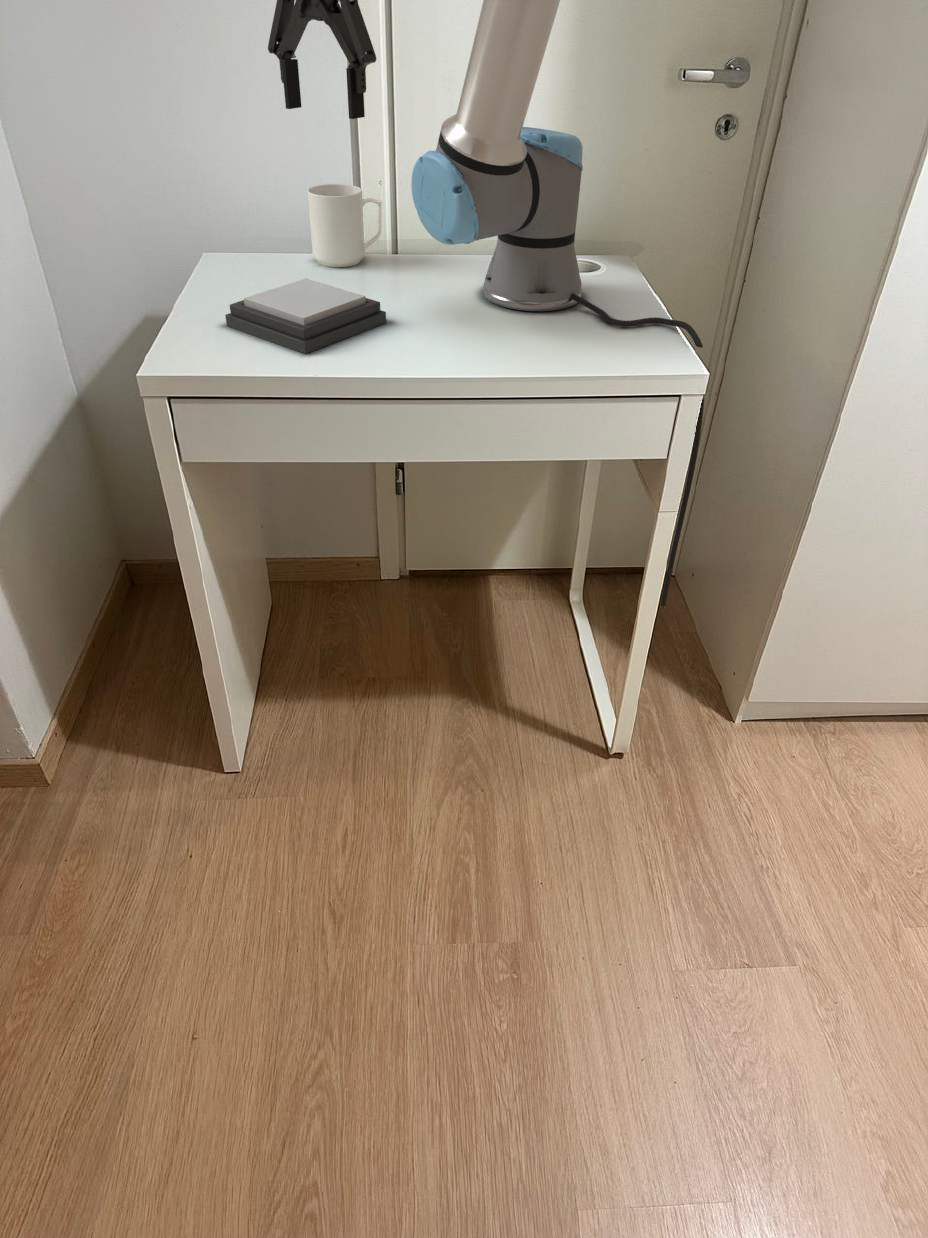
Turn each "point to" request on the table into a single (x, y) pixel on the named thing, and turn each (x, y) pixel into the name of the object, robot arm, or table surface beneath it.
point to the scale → (306, 326)
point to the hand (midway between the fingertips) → (324, 112)
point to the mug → (338, 224)
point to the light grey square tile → (304, 301)
